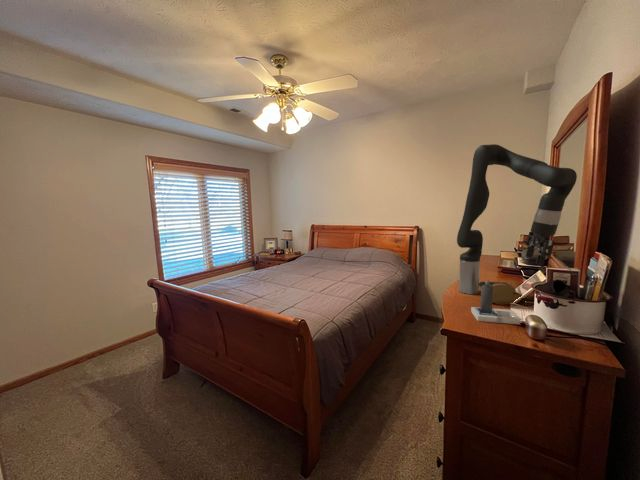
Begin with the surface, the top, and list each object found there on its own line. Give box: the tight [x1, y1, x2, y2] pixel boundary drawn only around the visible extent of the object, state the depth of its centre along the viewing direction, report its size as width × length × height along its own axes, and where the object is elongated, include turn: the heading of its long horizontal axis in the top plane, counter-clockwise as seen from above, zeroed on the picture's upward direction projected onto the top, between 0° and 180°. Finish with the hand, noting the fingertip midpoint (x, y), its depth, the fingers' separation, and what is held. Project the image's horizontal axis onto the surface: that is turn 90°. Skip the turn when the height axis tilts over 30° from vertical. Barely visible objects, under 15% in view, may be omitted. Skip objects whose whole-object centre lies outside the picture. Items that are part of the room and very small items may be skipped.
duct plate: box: [470, 306, 523, 325], centre depth 107 cm, size 10×15×2 cm, turn 73°
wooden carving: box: [489, 282, 523, 305], centre depth 122 cm, size 16×5×10 cm, turn 74°
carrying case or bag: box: [479, 281, 510, 287], centre depth 144 cm, size 11×3×15 cm
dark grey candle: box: [480, 280, 493, 314], centre depth 108 cm, size 4×4×15 cm
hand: (533, 260), depth 105 cm, fingers open, 8 cm apart
